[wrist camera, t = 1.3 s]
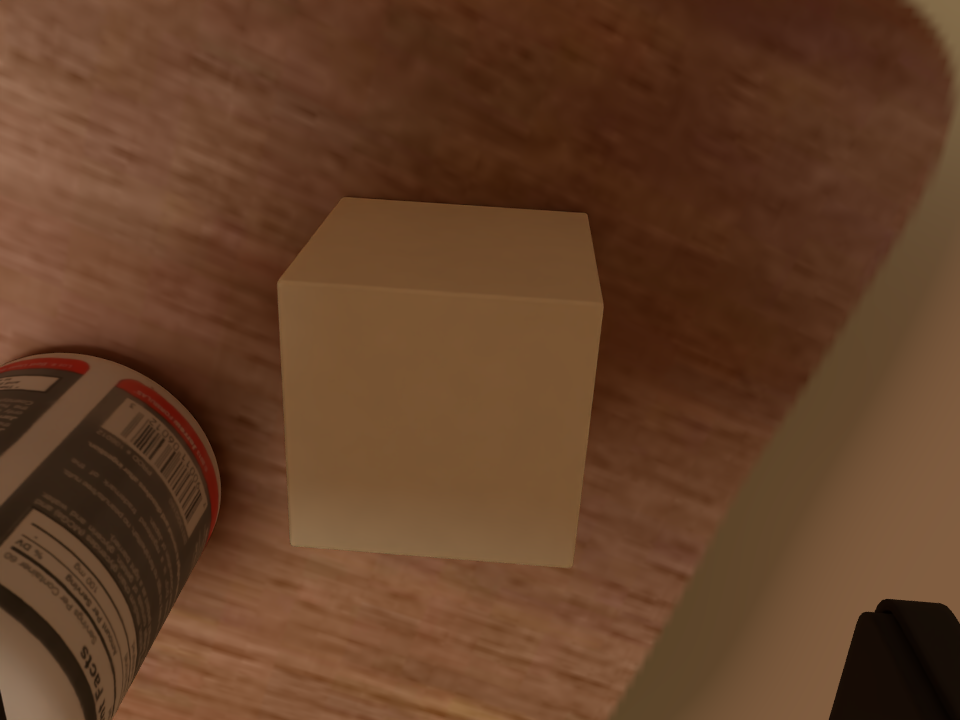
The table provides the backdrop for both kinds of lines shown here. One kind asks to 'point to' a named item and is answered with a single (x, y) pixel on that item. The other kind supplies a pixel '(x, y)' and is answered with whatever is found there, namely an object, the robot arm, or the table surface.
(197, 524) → the pill bottle
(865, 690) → the robot arm
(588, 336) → the cream block
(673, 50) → the table surface
